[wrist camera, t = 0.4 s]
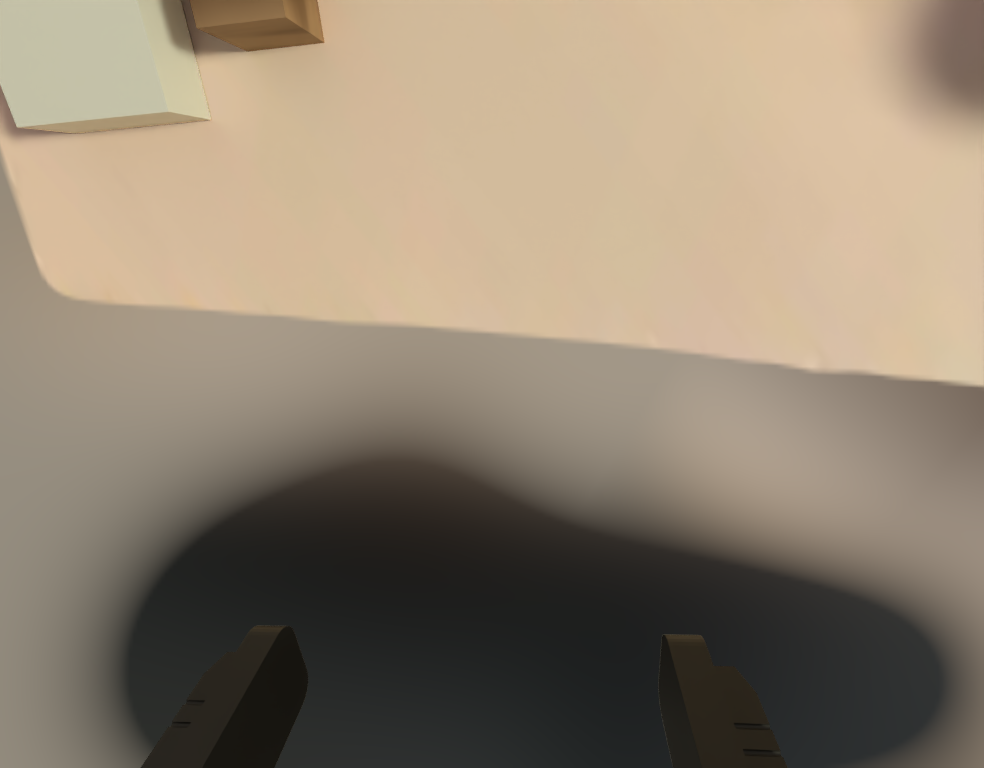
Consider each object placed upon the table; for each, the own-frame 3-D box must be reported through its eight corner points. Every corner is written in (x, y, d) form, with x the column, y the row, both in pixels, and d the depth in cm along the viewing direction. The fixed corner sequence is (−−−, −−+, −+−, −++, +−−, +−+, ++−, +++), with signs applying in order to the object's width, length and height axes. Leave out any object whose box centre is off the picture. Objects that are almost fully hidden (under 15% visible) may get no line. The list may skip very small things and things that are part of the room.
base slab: (10, -52, 29) (-66, -85, 26) (161, -75, 28) (105, -113, 25) (75, 133, 33) (17, 127, 29) (211, 119, 32) (168, 111, 28)
